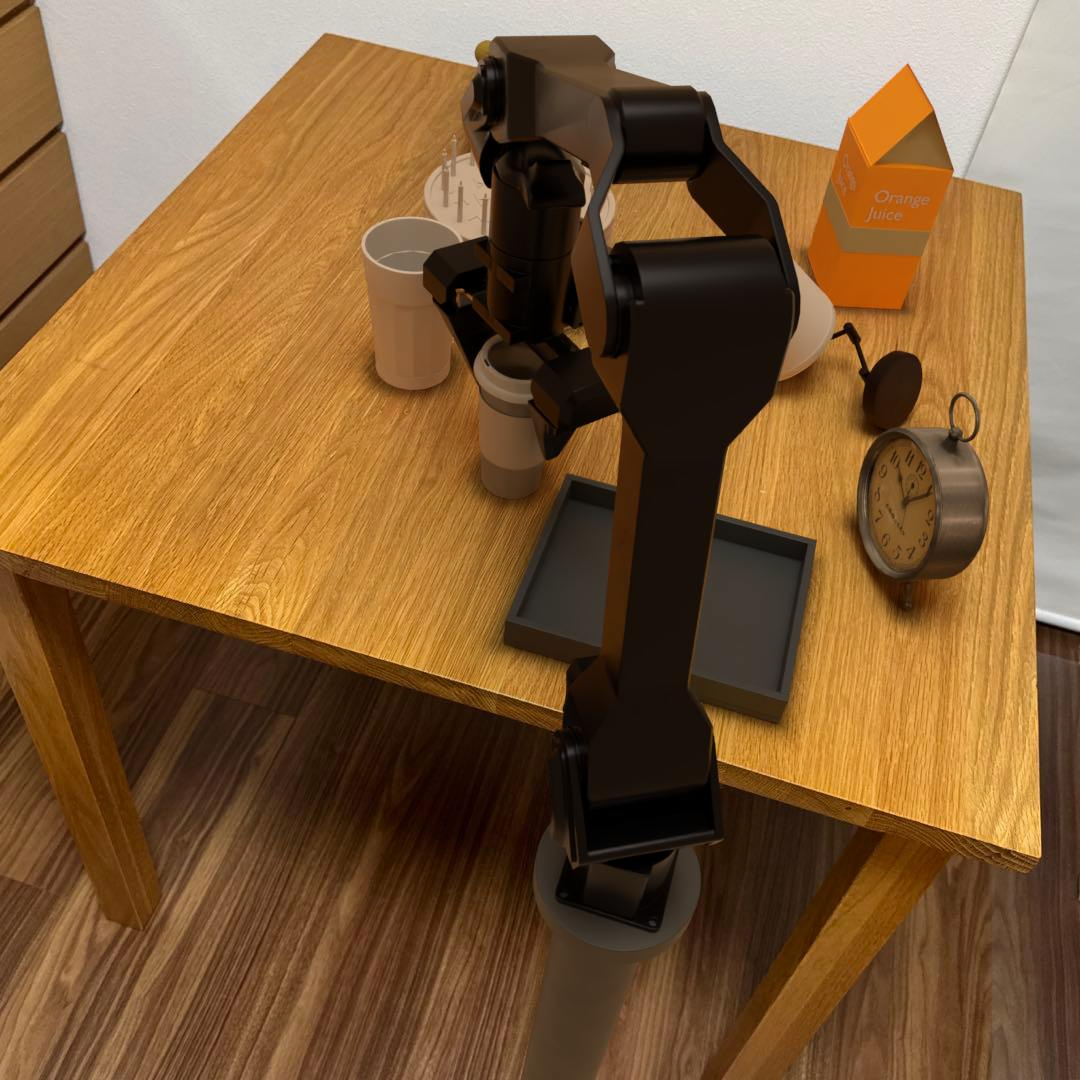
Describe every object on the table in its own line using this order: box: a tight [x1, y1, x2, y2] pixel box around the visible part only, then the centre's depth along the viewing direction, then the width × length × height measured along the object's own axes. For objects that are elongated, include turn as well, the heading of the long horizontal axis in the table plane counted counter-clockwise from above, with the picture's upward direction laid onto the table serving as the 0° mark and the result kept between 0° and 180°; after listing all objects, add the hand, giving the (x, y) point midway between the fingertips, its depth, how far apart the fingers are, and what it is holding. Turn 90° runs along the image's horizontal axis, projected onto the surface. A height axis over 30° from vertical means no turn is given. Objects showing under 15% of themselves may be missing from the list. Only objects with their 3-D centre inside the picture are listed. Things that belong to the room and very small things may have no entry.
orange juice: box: [807, 62, 955, 310], centre depth 104 cm, size 8×9×20 cm
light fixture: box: [722, 234, 924, 430], centre depth 96 cm, size 10×16×17 cm
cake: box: [422, 134, 617, 331], centre depth 102 cm, size 18×18×13 cm
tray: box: [502, 472, 818, 725], centre depth 80 cm, size 15×19×3 cm
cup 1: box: [360, 216, 463, 391], centre depth 92 cm, size 8×8×12 cm
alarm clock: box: [856, 391, 990, 611], centre depth 79 cm, size 11×5×16 cm, turn 10°
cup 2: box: [474, 334, 546, 500], centre depth 84 cm, size 7×7×12 cm
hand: (516, 420), depth 83 cm, fingers open, 9 cm apart
